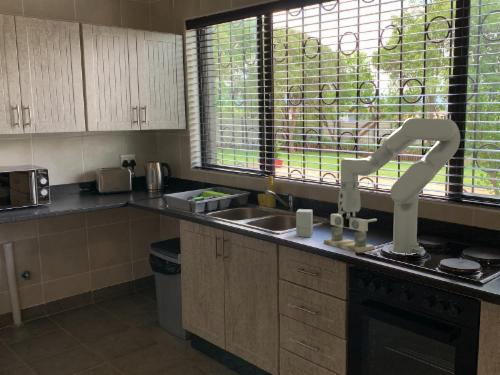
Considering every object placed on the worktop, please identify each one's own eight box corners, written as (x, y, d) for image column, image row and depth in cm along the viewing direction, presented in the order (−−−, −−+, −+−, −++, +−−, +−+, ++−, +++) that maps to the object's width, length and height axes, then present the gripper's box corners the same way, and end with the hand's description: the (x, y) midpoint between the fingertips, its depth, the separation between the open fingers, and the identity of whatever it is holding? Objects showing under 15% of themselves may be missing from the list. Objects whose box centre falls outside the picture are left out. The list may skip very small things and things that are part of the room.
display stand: (373, 249, 219) (374, 232, 218) (358, 252, 214) (358, 235, 213) (339, 240, 236) (339, 224, 235) (323, 243, 230) (323, 227, 229)
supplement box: (313, 234, 249) (313, 209, 248) (310, 237, 242) (311, 211, 241) (298, 233, 251) (298, 208, 250) (295, 236, 244) (295, 211, 243)
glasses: (376, 229, 220) (377, 218, 219) (363, 231, 215) (363, 220, 214) (343, 222, 236) (343, 212, 235) (329, 224, 231) (330, 214, 230)
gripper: (342, 188, 214) (342, 230, 216) (368, 185, 223) (367, 225, 225) (330, 186, 220) (329, 227, 222) (355, 183, 229) (354, 223, 231)
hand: (348, 226), depth 224 cm, fingers closed on glasses, 2 cm apart
